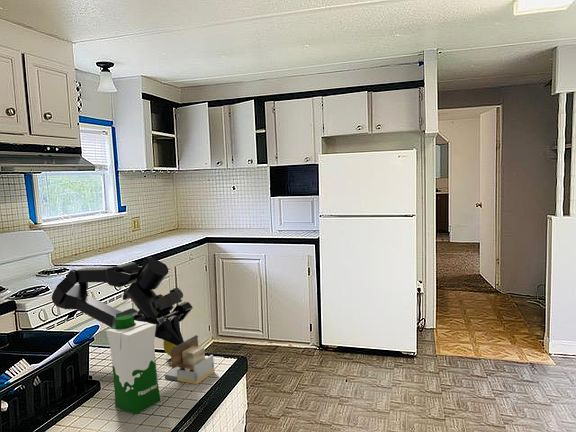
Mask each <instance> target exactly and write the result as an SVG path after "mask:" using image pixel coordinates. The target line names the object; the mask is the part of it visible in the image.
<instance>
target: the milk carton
mask: <svg viewBox="0 0 576 432" xmlns="http://www.w3.org/2000/svg"><path fill="white" fill-rule="evenodd" d="M115 325H116V326H115V327H112V328H111V327H110V328H109V329H108V328H107V329H106V330H105V331H106V336H107V340H108V345H109V348H110V355H111V356H110V357H111V368H112V376H113V387H114V388H113V390H114V405H115V408H116V409H118V410H122V411H124V412H127V413H130V414H133V415H135V416H137V415H139V414H141V413H142V412H144V411H146V410H147V409H149V408H151V407H152V406H154V405H156V404H157V403H159V402H161V401H162V398H161V393H160V388H159V387H160V386H159V383H158V375H157V363H156V361H157V360H156V352H155V338H156V337H155V330H156V324H150V323H148V322H141V321H135V320H134V316H133V315H130V314H127V315H121V316H118V317H116V318H115Z"/></svg>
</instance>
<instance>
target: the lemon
mask: <svg viewBox="0 0 576 432" xmlns="http://www.w3.org/2000/svg"><path fill="white" fill-rule="evenodd" d="M175 346H177V345H175V344H172V343H170V342H168V341H165V340H163V349H164V352H165V353H166V355H168V356H170V357H171V352H170V349H172V348H173V347H175Z"/></svg>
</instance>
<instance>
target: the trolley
mask: <svg viewBox="0 0 576 432" xmlns="http://www.w3.org/2000/svg"><path fill="white" fill-rule="evenodd" d="M198 337H199V336H198V335H194V336H192V337H190V338H188V339H186V340H185V341H184V342H183V343H181V344H179V345H177V346H175V347H173V348H172V349H170V352H171V356H170V362H171V363H170V364H171V368H172V369H175V368H176V367H180V369H179V370H185V368H186V369H191V370H189V371H191V372H194V369H193V366H194V365H196V364H198V363H199V362H201V361H202V360H204V359H206V354H205V353H206V351H205V346H199V340H198ZM185 371H186V370H185Z"/></svg>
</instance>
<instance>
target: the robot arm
mask: <svg viewBox="0 0 576 432" xmlns="http://www.w3.org/2000/svg"><path fill="white" fill-rule="evenodd" d="M168 274H169V267H168V266H167V265H166V263H164V262H162V261H160V260H157V259H154V257H152V256H149V257H146V258H145V259H144V261H143V263H142V265H141V266H139V265H138V264H137V262H133V261H131V262H130V261H129V262H126V263H124V264H119V265H115V266H109V267H86V266H83V267H77V268H73V269H71V270H70V271H68V272H67V275H66V276H65V277H64V278H63V279H62V280H61V281H60V282H59V283H58V284H57V285H56V286H55V289H54V290H53V292H52V295H51V301H52V303H53V305H55V306H56V307H57V308H60V309H63V310H77V311H79V312H81V313H83V314H85V315H87V316H88V317H91V318H92V319H95V320H96V321H97V322H100V323H101V324H102V323H103V324H104V325H106V326H107V327H110V329H111V328H112V327H115V326H116V325H115V318H116V317H118V316H121V315H127V314H130V315H133V316H134V320H135V321H141V322H148V323H150V324H156V330H155V338H158V339H161V340H162V341H164V340H165V341H168V342H170V343H172V344H175V345H179V344H181V343H183V342H185V341H184V338H183V334H182V332H181V328H180V325H179V324H180V323H181V322H182V321H184V320H185V319H186V317H187V316H188V314H189V313H190V312H191V311H192V310H193V309H194V307H193V305H192V304H191V303H190V302H188V301H184V302H183V298H184V293H183V292H182V290H181V289H180V288H179V287H177V286H176V287H175V288H172V289H170V290H169V293H167V294H164V295H163V294H161V293H160V294H156V293H155V291H154V290H156V289H158V287H160V285H161V284H162V282H163V281H164V279H165V278H166V276H167V275H168ZM89 283H106V284H108V285H109V286H110V287H116V288H122V287H125V286H128V285H129V287H128V288H125V289H123V295H122V300H123V301H126V300H128V299H130V301H132V302H133V304H134V305H135V306H136V308H137V309H138V310H137V309H135V308H133V307H132V308H128V309H126V310H123V311H121V310H118V309H117V308H114V307H113V306H112V305H109V304H106V303H105V302H103V301H100V299H96V298H95V297H93V296H90V295H89V293H88V289H89ZM176 304H177V305H176ZM174 305H175V307H174Z"/></svg>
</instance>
